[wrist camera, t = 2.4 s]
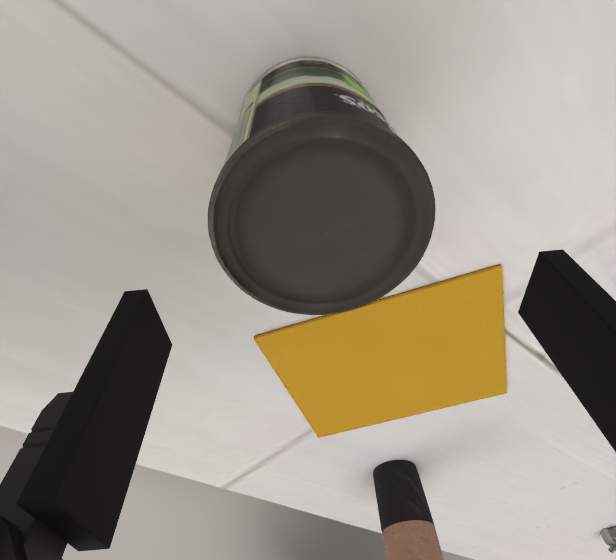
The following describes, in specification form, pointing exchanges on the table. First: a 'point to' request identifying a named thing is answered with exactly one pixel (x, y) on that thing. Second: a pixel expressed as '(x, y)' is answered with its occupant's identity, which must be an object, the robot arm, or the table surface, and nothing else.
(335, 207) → the coffee can
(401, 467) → the travel mug
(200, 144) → the table surface
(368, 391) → the cloth
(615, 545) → the egg carton
